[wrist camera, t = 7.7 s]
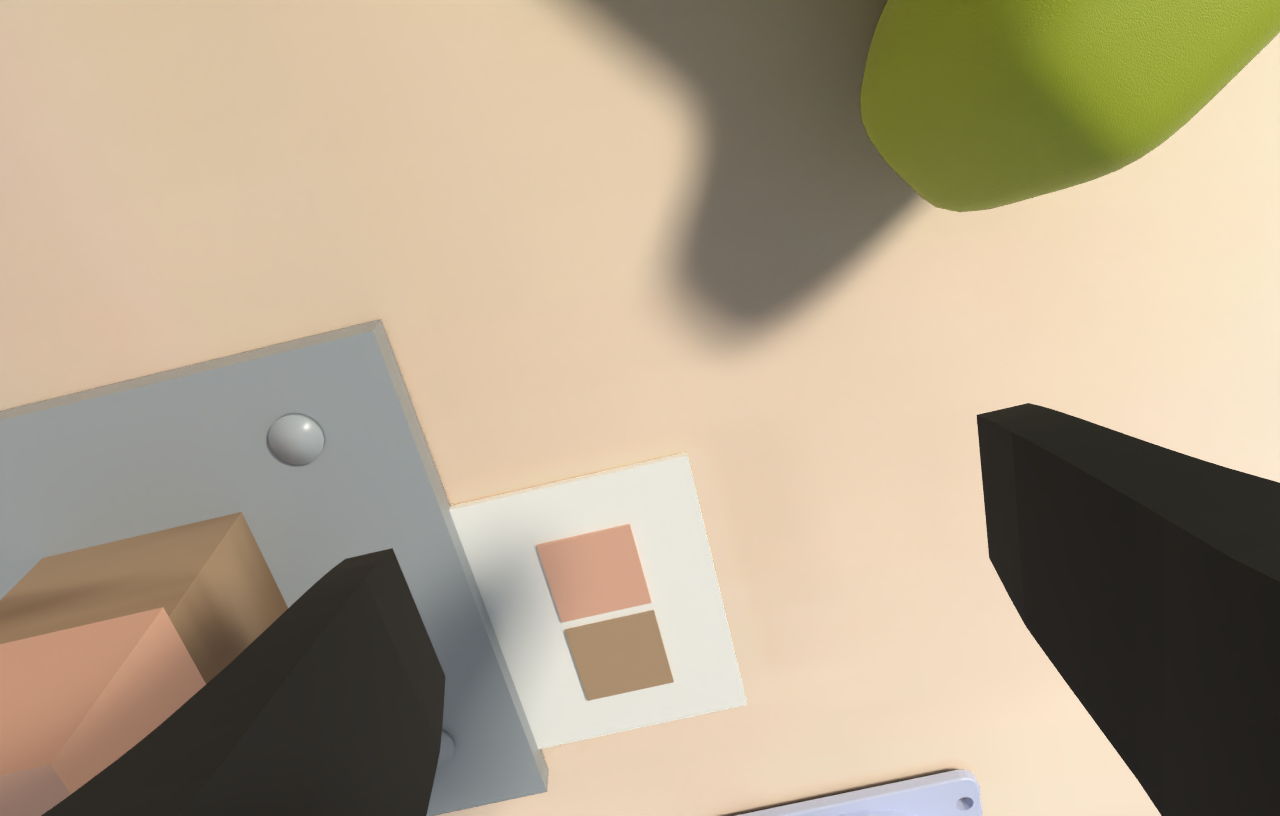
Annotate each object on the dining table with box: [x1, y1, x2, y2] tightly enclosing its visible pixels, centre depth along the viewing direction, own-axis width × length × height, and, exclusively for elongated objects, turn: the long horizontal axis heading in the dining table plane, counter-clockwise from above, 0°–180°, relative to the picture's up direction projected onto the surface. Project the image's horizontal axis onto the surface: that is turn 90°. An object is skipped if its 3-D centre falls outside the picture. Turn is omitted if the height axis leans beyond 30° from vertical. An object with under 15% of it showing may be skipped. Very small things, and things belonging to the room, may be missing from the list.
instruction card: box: [449, 452, 748, 749], centre depth 24 cm, size 8×6×1 cm
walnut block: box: [0, 512, 288, 684], centre depth 21 cm, size 5×5×4 cm
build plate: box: [0, 319, 548, 816], centre depth 23 cm, size 14×14×1 cm
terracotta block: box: [0, 607, 206, 816], centre depth 17 cm, size 5×5×4 cm
